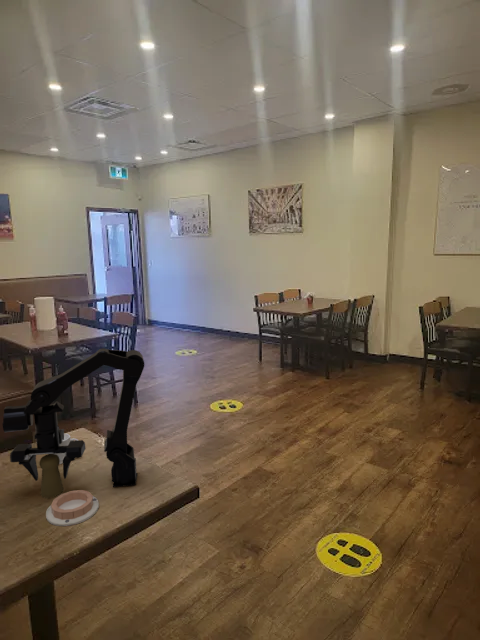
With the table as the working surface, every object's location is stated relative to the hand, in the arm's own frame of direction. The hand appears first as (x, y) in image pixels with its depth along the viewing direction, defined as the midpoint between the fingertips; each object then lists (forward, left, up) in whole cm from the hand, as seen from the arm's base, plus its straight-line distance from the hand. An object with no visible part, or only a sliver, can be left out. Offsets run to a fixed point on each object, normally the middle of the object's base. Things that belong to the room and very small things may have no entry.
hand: (51, 478), depth 123 cm
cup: (+1, -19, -4) cm, 19 cm away
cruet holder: (-8, +10, -4) cm, 13 cm away
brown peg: (0, 0, -4) cm, 4 cm away
